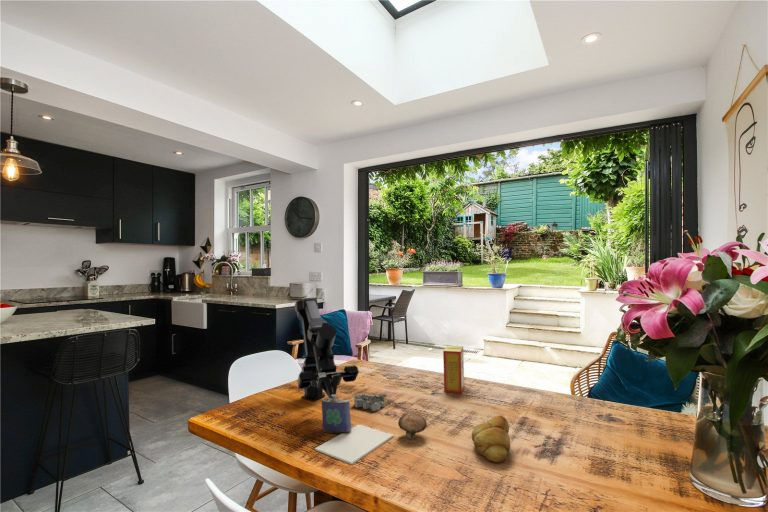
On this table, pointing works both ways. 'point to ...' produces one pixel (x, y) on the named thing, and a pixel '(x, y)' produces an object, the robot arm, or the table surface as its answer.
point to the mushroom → (412, 424)
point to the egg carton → (370, 401)
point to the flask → (336, 415)
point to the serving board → (354, 443)
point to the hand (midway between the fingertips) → (333, 401)
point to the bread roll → (492, 439)
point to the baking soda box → (453, 369)
